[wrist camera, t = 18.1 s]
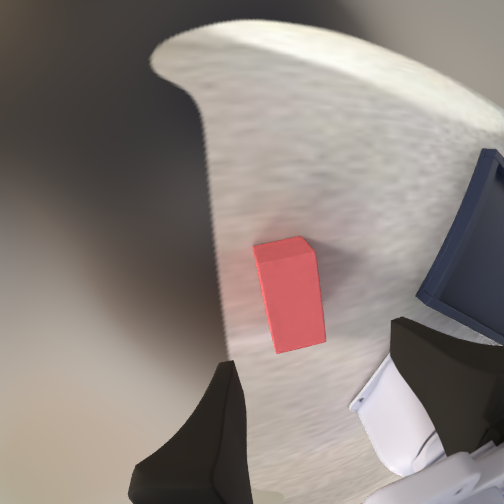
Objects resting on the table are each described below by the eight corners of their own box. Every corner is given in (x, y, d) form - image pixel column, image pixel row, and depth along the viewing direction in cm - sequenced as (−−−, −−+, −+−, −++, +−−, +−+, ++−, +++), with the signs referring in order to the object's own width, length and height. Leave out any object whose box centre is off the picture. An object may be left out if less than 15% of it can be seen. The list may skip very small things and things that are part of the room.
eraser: (313, 315, 22) (326, 342, 18) (269, 326, 22) (276, 354, 18) (301, 235, 20) (315, 250, 16) (252, 245, 20) (257, 263, 16)
